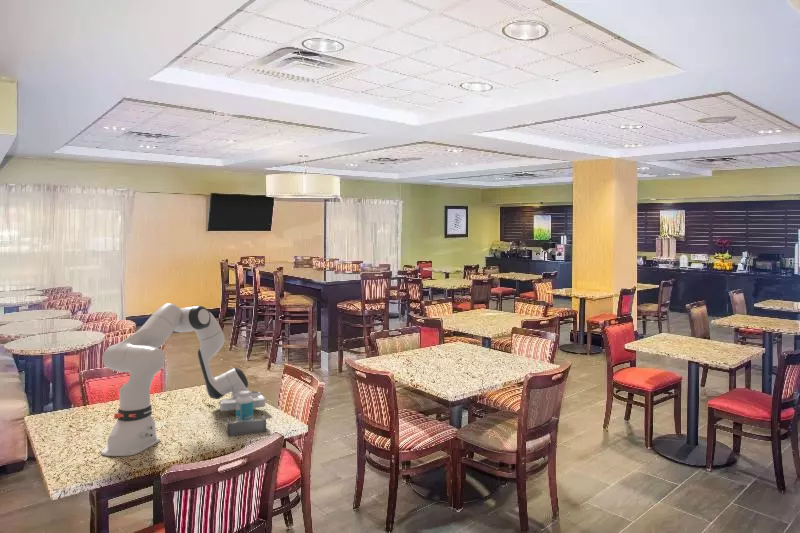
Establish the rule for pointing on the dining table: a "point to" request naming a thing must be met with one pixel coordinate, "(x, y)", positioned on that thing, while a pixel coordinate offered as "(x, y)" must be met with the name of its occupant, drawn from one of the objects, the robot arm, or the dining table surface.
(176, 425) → the dining table surface
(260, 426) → the bracket
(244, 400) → the pill bottle
